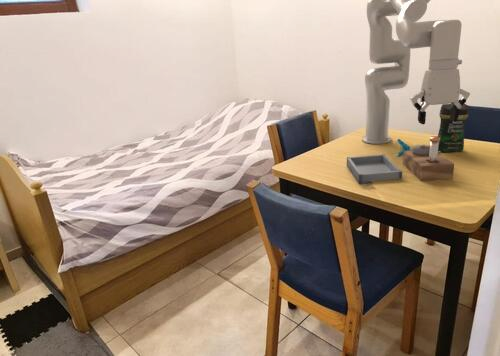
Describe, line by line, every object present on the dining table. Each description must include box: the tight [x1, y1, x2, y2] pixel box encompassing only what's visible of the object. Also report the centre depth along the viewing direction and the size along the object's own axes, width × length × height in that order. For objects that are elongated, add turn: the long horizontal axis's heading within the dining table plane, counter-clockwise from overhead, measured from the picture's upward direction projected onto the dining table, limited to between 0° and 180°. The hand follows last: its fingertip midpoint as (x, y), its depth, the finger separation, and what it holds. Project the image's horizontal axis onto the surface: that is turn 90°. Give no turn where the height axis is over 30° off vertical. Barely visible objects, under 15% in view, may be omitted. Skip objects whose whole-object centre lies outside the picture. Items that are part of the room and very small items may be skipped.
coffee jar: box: [437, 103, 469, 154], centre depth 140 cm, size 10×8×19 cm
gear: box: [395, 138, 412, 158], centre depth 141 cm, size 11×6×10 cm
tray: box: [346, 153, 403, 185], centre depth 129 cm, size 18×14×4 cm
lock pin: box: [429, 135, 440, 163], centre depth 119 cm, size 3×3×13 cm
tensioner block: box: [402, 144, 455, 182], centre depth 124 cm, size 16×10×9 cm, turn 179°
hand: (437, 122), depth 114 cm, fingers open, 9 cm apart
